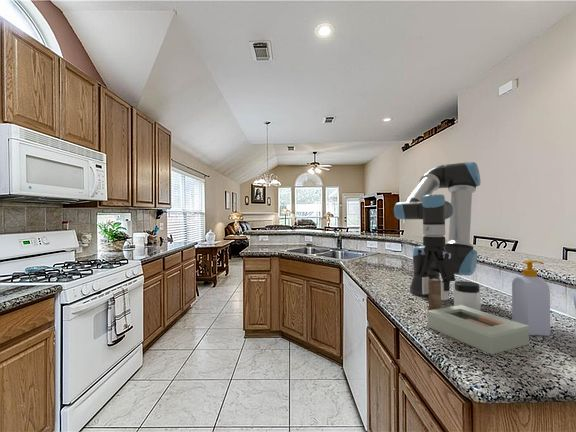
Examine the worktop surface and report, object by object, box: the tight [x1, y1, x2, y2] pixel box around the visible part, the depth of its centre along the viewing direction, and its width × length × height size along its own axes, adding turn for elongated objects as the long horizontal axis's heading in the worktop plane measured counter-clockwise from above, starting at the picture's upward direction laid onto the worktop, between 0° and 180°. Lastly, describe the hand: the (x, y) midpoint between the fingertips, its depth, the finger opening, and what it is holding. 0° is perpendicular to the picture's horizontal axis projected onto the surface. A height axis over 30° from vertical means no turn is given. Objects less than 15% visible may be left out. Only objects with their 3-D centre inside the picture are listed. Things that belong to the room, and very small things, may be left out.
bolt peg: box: [427, 279, 442, 311], centre depth 111 cm, size 5×5×14 cm
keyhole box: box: [426, 305, 530, 355], centre depth 95 cm, size 22×16×6 cm
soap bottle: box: [511, 260, 551, 337], centre depth 97 cm, size 9×7×23 cm
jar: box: [453, 280, 482, 311], centre depth 113 cm, size 9×8×12 cm
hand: (434, 296), depth 111 cm, fingers open, 8 cm apart
